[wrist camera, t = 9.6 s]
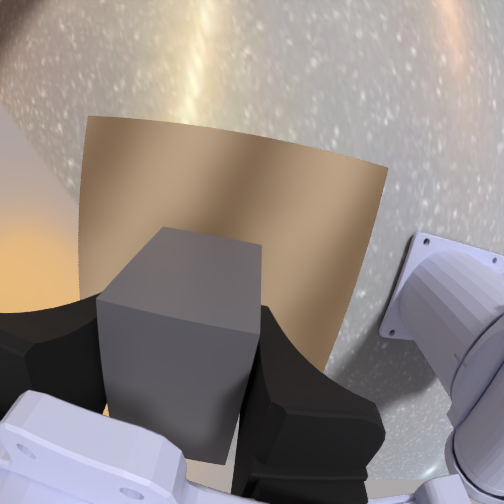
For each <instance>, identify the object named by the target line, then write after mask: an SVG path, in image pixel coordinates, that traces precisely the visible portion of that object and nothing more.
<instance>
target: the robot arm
mask: <svg viewBox="0 0 504 504" xmlns="http://www.w3.org/2000/svg"><path fill="white" fill-rule="evenodd" d="M426 238H427V242H426V243H425V244H423V242H424V240H425V239H426ZM493 259H494V260H493ZM492 261H493V262H492ZM503 270H504V256H502V255H499V254H496V253H493V252H489V251H486V250H483V249H479V248H476V247H473V246H469V245H466V244H462V243H459V242H456V241H452V240H448V239H445V238H441V237H438V236H434V235H430V234H427V233H423V232H417V233H415V234H414V235H413V237H412V241H411V244H410V247H409V250H408V253H407V256H406V259H405V262H404V265H403V268H402V271H401V274H400V276H399V279H398V282H397V285H396V288H395V290H394V293H393V296H392V298H391V301H390V303H389V306H388V309H387V311H386V314H385V316H384V319H383V321H382V323H381V326H380V328H379V334H380V335H381V336H382V337H384V338H393V339H403V340H413V341H415V343H416V344H417V346H418V347H419V349H420V350H421V352H422V353H423V355H424V357H425V358H426V360H427V361H428V363H429V364H430V366H431V368H432V369H433V371H434V372H435V374H436V376H437V377H438V379H439V381H440V382H441V384H442V386H443V387H444V389H445V391H446V392H447V394H448V396H449V397H450V399H451V401H452V405H451V408H450V410H449V411H448V413H447V416H448V418H449V420H450V422H451V424H452V426H453V428H454V430H453V431H452V432H451V433H450V435H449V437H448V438H447V441H446V444H445V461H446V465H447V468H448V471H449V473H450V475H447V476H442V477H437V478H433V479H430V480H428V481H426V482H424V483H423V484H422V485H421V486H420V487H419V488H418V489H417V490H416V491H415V493H412V494H405V495H399V496H392V497H383V498H373V499H368V498H367V493H366V489H365V485H364V481H366V479H367V477H368V474H367V470H366V466H367V464H368V463H369V462H370V461H371V459H372V458H373V457H374V455H375V454H376V453H377V451H378V450H379V449H380V447H381V446H382V444H383V442H384V440H385V433H386V432H385V429H384V426H383V423H382V420H381V417H380V414H379V412H378V410H377V407H376V405H375V403H373V402H371V401H369V400H367V399H365V398H362V397H360V396H358V395H356V394H354V393H352V392H350V391H349V390H347V389H345V388H344V387H342V386H340V385H339V384H337V383H335V382H334V381H332V380H331V379H330V378H328V377H327V376H326V375H324V374H323V373H322V372H320V371H319V370H318V369H317V368H316V367H314V366H313V365H312V364H311V363H310V362H309V361H308V360H307V359H306V358H305V357H304V356H303V355H302V354H301V353H300V352H299V351H298V350H297V349H296V348H295V346H294V345H293V344H292V343H291V341H290V340H289V339H288V337H287V336H286V335H285V333H284V332H283V330H282V329H281V327H280V326H279V324H278V322H277V321H276V319H275V317H274V316H273V314H272V312H271V310H270V309H269V307H268V306H264V305H261V319H260V337H259V341H258V345H257V349H256V352H255V356H254V360H253V364H252V368H251V372H250V375H249V379H248V383H247V387H246V391H245V394H244V398H243V402H242V405H241V409H240V418H239V430H238V439H237V448H236V456H235V465H234V473H233V480H232V488H231V494H229V493H226V492H222V491H219V490H216V489H213V488H210V487H206V486H203V485H201V484H198V483H195V482H192V481H189V480H187V479H186V469H187V463H186V460H185V458H184V455H183V453H182V451H181V450H180V449H179V448H178V447H177V446H176V445H174V444H173V443H172V442H170V441H169V440H168V439H167V438H165V437H164V436H163V435H161V434H158V433H156V432H153V431H151V430H148V429H146V428H144V427H141V426H138V425H135V424H131V423H128V422H124V421H121V420H118V419H114V418H111V417H108V416H105V415H102V414H103V411H104V409H105V406H106V404H107V399H106V392H105V386H104V379H103V371H102V363H101V354H100V345H99V334H98V322H97V306H96V298H97V297H98V296H99V295H100V294H101V293H102V292H100V293H98V294H95V295H93V296H90V297H87V298H85V299H82V300H80V301H77V302H74V303H71V304H67V305H63V306H59V307H55V308H50V309H44V310H39V311H32V312H22V313H0V504H471V502H470V500H469V497H470V498H471V499H473V500H475V501H477V502H479V503H482V504H504V271H503ZM391 330H394V331H393V332H391V333H389V332H390V331H391ZM468 496H469V497H468Z"/></svg>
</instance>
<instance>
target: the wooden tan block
mask: <svg viewBox="0 0 504 504" xmlns="http://www.w3.org/2000/svg"><path fill="white" fill-rule="evenodd" d="M387 172H388V168H387V167H384V166H380V165H377V164H374V163H370V162H367V161H363V160H359V159H356V158H352V157H348V156H345V155H341V154H337V153H333V152H329V151H325V150H321V149H317V148H313V147H308V146H304V145H299V144H295V143H290V142H286V141H281V140H276V139H271V138H266V137H261V136H256V135H250V134H245V133H239V132H233V131H227V130H221V129H215V128H208V127H201V126H194V125H187V124H179V123H171V122H162V121H152V120H142V119H131V118H118V117H102V116H88V121H87V128H86V135H85V143H84V152H83V162H82V173H81V186H80V203H79V238H78V239H79V240H78V242H79V246H78V249H79V250H78V251H79V252H78V253H79V286H80V287H79V288H80V300H82V299H85V298H87V297H90V296H93V295H95V294H98V293H100V292H102V291H103V290H104V289H105V288H106V287H107V286H108V285H109V284H110V283H111V281H112V280H113V279H114V278H115V277H116V276H117V275H118V274H119V273H120V272H121V270H122V269H123V268H124V267H125V266H126V265H127V264H128V263H129V262H130V261H131V260H132V259H133V257H134V256H135V255H136V254H137V253H138V252H139V251H140V250H141V249H142V248H143V247H144V246H145V245H146V244H147V243H148V242H149V241H150V240H151V238H152V237H153V236H154V235H155V234H156V233H157V232H158V231H159V230H160V229H161V228H162V227H163V226H164V227H170V228H175V229H181V230H186V231H191V232H197V233H202V234H207V235H213V236H218V237H223V238H229V239H234V240H239V241H244V242H250V243H255V244H260V245H262V268H261V305H264V306H268V307H269V309H270V310H271V312H272V314H273V316H274V317H275V319H276V321H277V322H278V324H279V326H280V327H281V329H282V330H283V332H284V333H285V335H286V336H287V337H288V339H289V340H290V341H291V343H292V344H293V345H294V346H295V348H296V349H297V350H298V351H299V352H300V353H301V354H302V355H303V356H304V357H305V358H306V359H307V360H308V361H309V362H310V363H311V364H312V365H313V366H314V367H316V368H317V369H318V370H319V371H320V372H322V373H323V371H324V368H325V366H326V363H327V361H328V358H329V356H330V353H331V351H332V348H333V346H334V343H335V341H336V338H337V335H338V333H339V330H340V327H341V324H342V322H343V319H344V316H345V313H346V311H347V308H348V305H349V302H350V299H351V296H352V293H353V290H354V287H355V284H356V281H357V278H358V275H359V272H360V269H361V266H362V263H363V259H364V256H365V253H366V250H367V246H368V243H369V240H370V236H371V233H372V229H373V226H374V222H375V219H376V215H377V211H378V207H379V204H380V200H381V196H382V192H383V188H384V184H385V180H386V176H387Z"/></svg>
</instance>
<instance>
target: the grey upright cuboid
mask: <svg viewBox="0 0 504 504" xmlns="http://www.w3.org/2000/svg"><path fill="white" fill-rule="evenodd" d="M261 268H262V245H260V244H255V243H250V242H244V241H239V240H234V239H229V238H223V237H218V236H213V235H207V234H202V233H197V232H191V231H186V230H181V229H175V228H170V227H164V226H163V227H162V228H161V229H160V230H159V231H158V232H157V233H156V234H155V235H154V236H153V237H152V238H151V240H150V241H149V242H148V243H147V244H146V245H145V246H144V247H143V248H142V249H141V250H140V251H139V252H138V253H137V254H136V255H135V256H134V257H133V259H132V260H131V261H130V262H129V263H128V264H127V265H126V266H125V267H124V268H123V269H122V270H121V272H120V273H119V274H118V275H117V276H116V277H115V278H114V279H113V280H112V281H111V283H110V284H109V285H108V286H107V287H106V288H105V289H104V290H103V291H102V293H101V294H100V295H99V296H98V297H97V298H96V306H97V322H98V334H99V345H100V354H101V363H102V371H103V379H104V386H105V392H106V399H107V404H108V411H109V416H110V417H111V418H114V419H118V420H121V421H124V422H128V423H131V424H135V425H138V426H141V427H144V428H146V429H148V430H151V431H153V432H156V433H158V434H161V435H163V436H164V437H165V438H167V439H168V440H169V441H170V442H172V443H173V444H174V445H176V446H177V447H178V448H179V449H180V450H181V451H182V453H183V455H184V458H187V459H191V460H197V461H203V462H208V463H213V464H220V465H225V463H226V460H227V456H228V453H229V449H230V445H231V442H232V438H233V435H234V431H235V427H236V424H237V420H238V417H239V413H240V409H241V405H242V402H243V398H244V394H245V391H246V387H247V383H248V379H249V375H250V372H251V368H252V364H253V360H254V356H255V352H256V349H257V345H258V341H259V337H260V319H261Z"/></svg>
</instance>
